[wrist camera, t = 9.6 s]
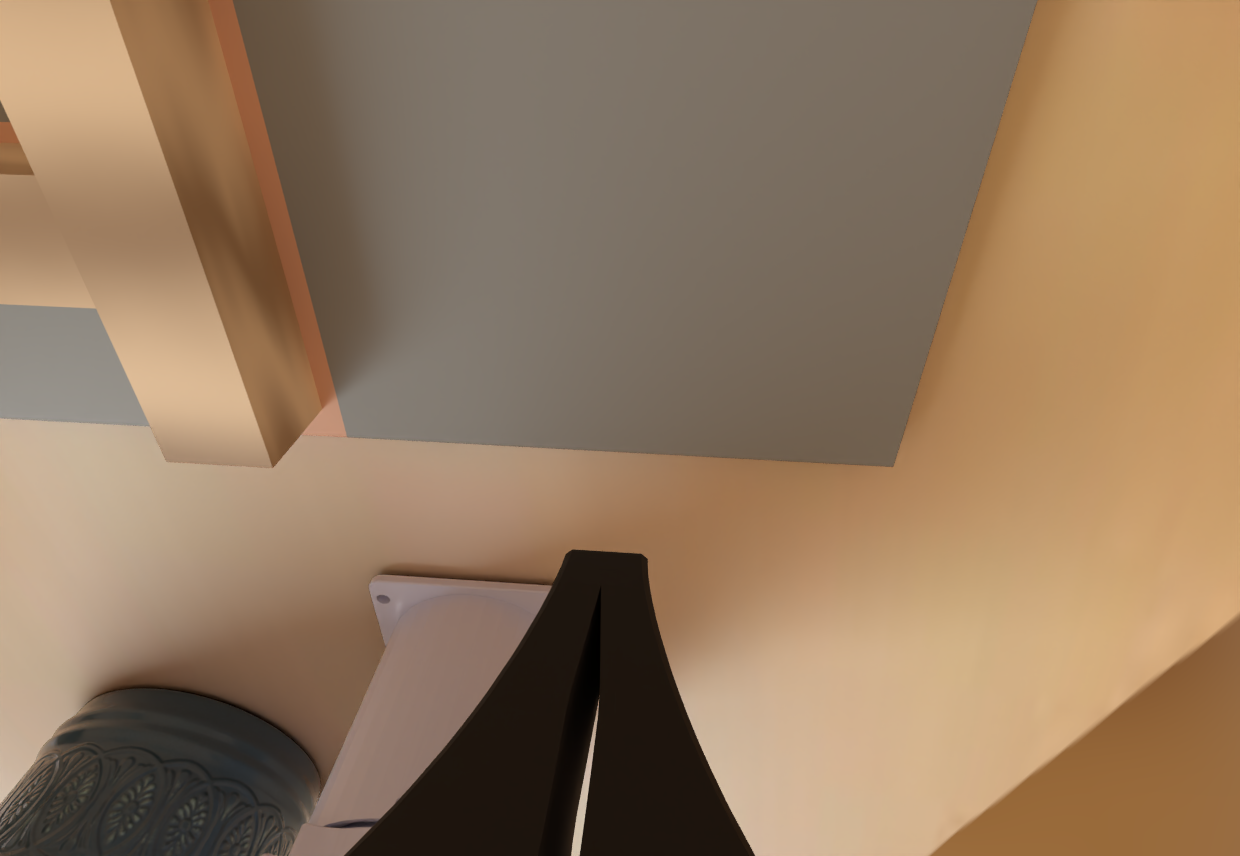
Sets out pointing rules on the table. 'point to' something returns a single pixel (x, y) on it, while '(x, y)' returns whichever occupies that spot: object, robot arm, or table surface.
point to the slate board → (597, 218)
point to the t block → (151, 219)
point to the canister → (161, 782)
